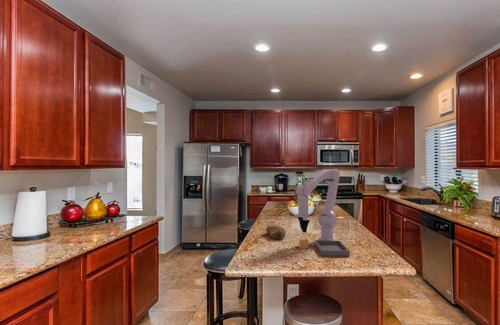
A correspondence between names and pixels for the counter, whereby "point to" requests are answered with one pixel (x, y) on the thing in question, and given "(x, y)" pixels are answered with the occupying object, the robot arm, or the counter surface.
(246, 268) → the counter surface
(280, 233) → the brown rounded lump
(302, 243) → the ochre block
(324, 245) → the charcoal tray
